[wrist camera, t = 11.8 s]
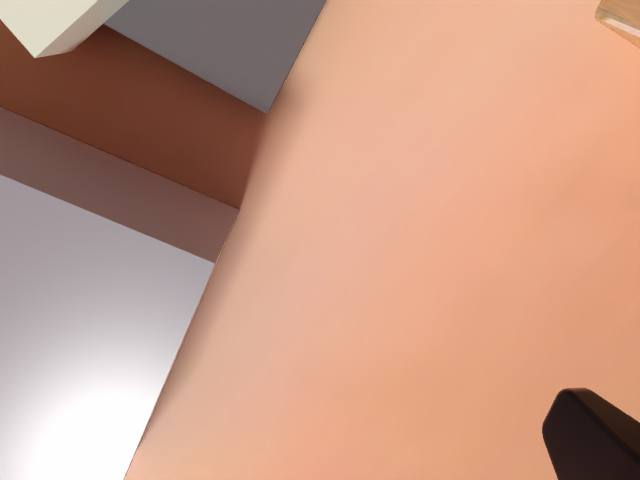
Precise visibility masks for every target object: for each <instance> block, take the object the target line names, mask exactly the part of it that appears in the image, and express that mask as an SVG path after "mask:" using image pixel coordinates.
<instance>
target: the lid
mask: <svg viewBox="0 0 640 480" xmlns="http://www.w3.org/2000/svg"><path fill="white" fill-rule="evenodd" d="M128 1H129V0H0V19H1V20H2V22H3V23H4V24H5V25H6V26H7V27H8V28H9V30H10V31H11V32H12V33H13V34H14V35H15V36H16V38H17V39H18V40H19V41H20V42H21V43H22V44H23V45H24V47H25V48H26V49H27V50H28V51H29V52H30V53H31V55H32V56H33V57H34V58H38V57H44V56H50V55H56V54H62V53H68V52H72V51H73V50H74V49H75V48H76V47H77V46H79V45H80V44H81V43H82V42H83V41H84V40H85V39H86V38H88V37H89V36H90V35H91V34H92V33H93V32H94V31H95V30H96V29H98V28H99V27H100V26H101V25H102V24H103V23H104V22H105V21H107V20H108V19H109V18H110V17H111V16H112V15H113V14H114V13H116V12H117V11H118V10H119V9H120V8H121V7H122V6H123V5H125V4H126V3H127V2H128Z"/></svg>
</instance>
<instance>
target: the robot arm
mask: <svg viewBox="0 0 640 480" xmlns="http://www.w3.org/2000/svg"><path fill="white" fill-rule="evenodd" d="M542 434H543V439H544V442H545V445H546V448H547V450H548V453H549V456H550V459H551V461H552V464H553V467H554V470H555V472H556V475H557V478H558V480H640V423H639V422H638V421H636V420H635V419H633V418H632V417H630V416H629V415H627V414H626V413H624V412H623V411H621V410H620V409H618V408H617V407H615V406H614V405H612V404H611V403H609V402H608V401H606V400H605V399H603V398H602V397H600V396H599V395H597V394H596V393H594V392H593V391H591V390H589V389H586V388H567V389H563V390H561V391H560V392H559V393H558V394H557V396H556V398H555V400H554V402H553V404H552V406H551V408H550V410H549V412H548V414H547V416H546V418H545V420H544V422H543V427H542Z"/></svg>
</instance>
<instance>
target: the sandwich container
mask: <svg viewBox="0 0 640 480" xmlns="http://www.w3.org/2000/svg"><path fill="white" fill-rule="evenodd" d="M595 18H596V20H597V21H599V22H600V23H602V24H603V25H605V26H606V27H608V28H609V29H611V30H612V31H614V32H615V33H617V34H618V35H620V36H622V37H623V38H625V39H626V40H628V41H629V42H631V43H632V44H634V45H635V46H637V47H638V48H640V0H601V2H600V3H599V5H598V8H597V10H596V13H595Z"/></svg>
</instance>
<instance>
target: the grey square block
mask: <svg viewBox="0 0 640 480" xmlns="http://www.w3.org/2000/svg"><path fill="white" fill-rule="evenodd" d="M239 211H240V210H239V209H237V208H234V207H232V206H230V205H227V204H225V203H223V202H220V201H218V200H216V199H213V198H211V197H209V196H206V195H204V194H202V193H200V192H197V191H195V190H193V189H190V188H188V187H186V186H183V185H181V184H179V183H176V182H174V181H172V180H169V179H167V178H165V177H162V176H160V175H158V174H155V173H153V172H151V171H148V170H146V169H144V168H141V167H139V166H137V165H134V164H132V163H130V162H127V161H125V160H123V159H120V158H118V157H116V156H114V155H111V154H109V153H107V152H104V151H102V150H100V149H97V148H95V147H93V146H90V145H88V144H86V143H83V142H81V141H79V140H76V139H74V138H72V137H69V136H67V135H65V134H62V133H60V132H58V131H55V130H53V129H51V128H48V127H46V126H44V125H41V124H39V123H37V122H34V121H32V120H30V119H28V118H25V117H23V116H21V115H18V114H16V113H14V112H11V111H9V110H7V109H4V108H2V107H0V480H124V478H125V476H126V474H127V472H128V469H129V467H130V465H131V463H132V460H133V458H134V456H135V454H136V451H137V449H138V447H139V444H140V442H141V440H142V437H143V435H144V433H145V430H146V428H147V426H148V423H149V421H150V419H151V416H152V414H153V412H154V409H155V407H156V405H157V402H158V400H159V398H160V395H161V393H162V391H163V388H164V386H165V383H166V381H167V379H168V376H169V374H170V372H171V369H172V367H173V365H174V362H175V360H176V358H177V355H178V353H179V351H180V348H181V346H182V344H183V341H184V339H185V337H186V334H187V332H188V330H189V327H190V325H191V323H192V320H193V318H194V316H195V313H196V311H197V309H198V306H199V304H200V302H201V299H202V297H203V295H204V292H205V290H206V288H207V285H208V283H209V281H210V278H211V276H212V274H213V271H214V269H215V267H216V264H217V262H218V260H219V257H220V255H221V253H222V250H223V248H224V246H225V243H226V241H227V239H228V236H229V234H230V232H231V229H232V227H233V225H234V222H235V220H236V218H237V215H238V213H239Z"/></svg>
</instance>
